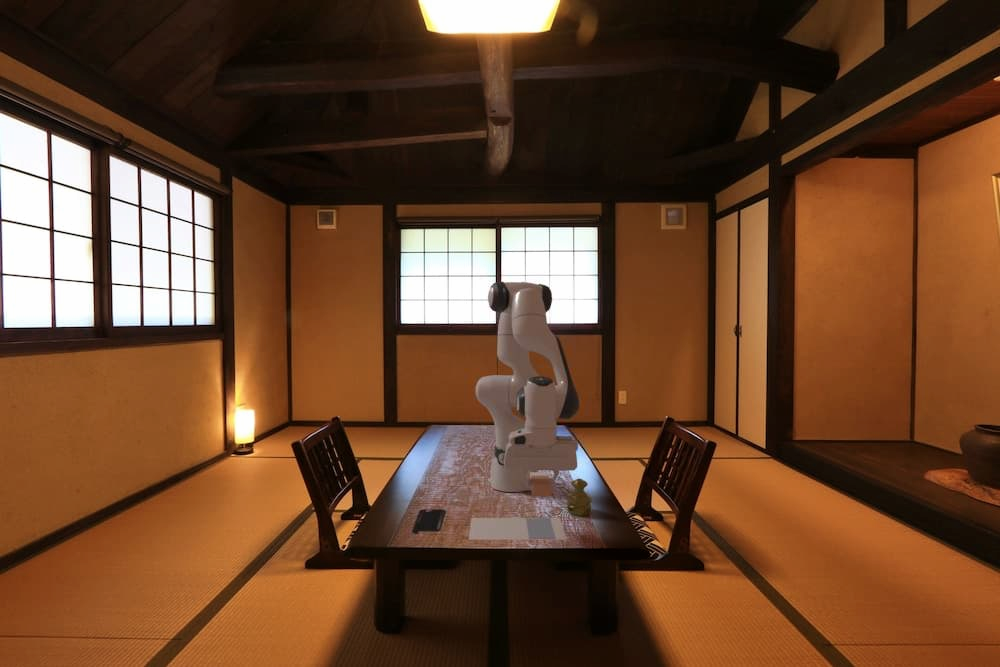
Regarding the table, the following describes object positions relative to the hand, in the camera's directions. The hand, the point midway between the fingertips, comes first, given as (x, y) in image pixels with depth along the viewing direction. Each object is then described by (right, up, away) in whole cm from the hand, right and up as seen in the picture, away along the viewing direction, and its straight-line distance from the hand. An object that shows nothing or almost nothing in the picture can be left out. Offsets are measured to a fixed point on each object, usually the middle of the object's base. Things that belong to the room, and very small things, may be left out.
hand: (540, 485), depth 136 cm
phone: (-32, -13, +6) cm, 35 cm away
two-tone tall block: (0, -1, 0) cm, 1 cm away
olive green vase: (+13, -13, +14) cm, 23 cm away
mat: (-6, -13, 0) cm, 14 cm away
